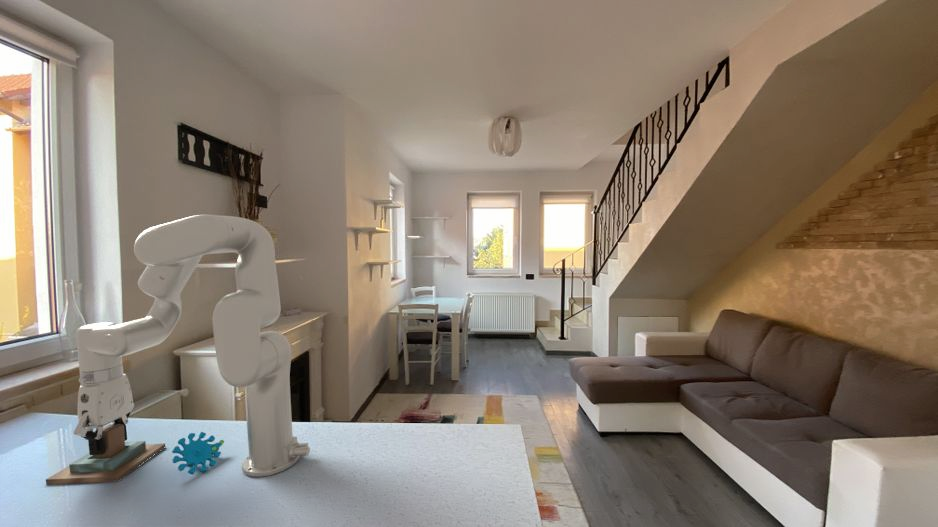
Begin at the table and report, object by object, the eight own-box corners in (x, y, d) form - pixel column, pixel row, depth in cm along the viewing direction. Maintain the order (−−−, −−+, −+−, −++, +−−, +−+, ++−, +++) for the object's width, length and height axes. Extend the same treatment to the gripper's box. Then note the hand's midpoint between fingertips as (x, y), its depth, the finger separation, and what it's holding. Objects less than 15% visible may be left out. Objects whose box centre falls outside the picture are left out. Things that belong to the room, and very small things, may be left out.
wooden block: (126, 455, 96) (124, 423, 96) (110, 464, 92) (108, 431, 92) (111, 455, 96) (109, 423, 96) (94, 464, 92) (93, 431, 92)
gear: (181, 478, 85) (168, 438, 89) (170, 492, 87) (158, 452, 91) (232, 459, 95) (219, 424, 98) (222, 472, 96) (209, 437, 100)
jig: (165, 447, 101) (164, 436, 101) (118, 481, 87) (117, 467, 87) (103, 450, 101) (102, 438, 101) (46, 484, 87) (44, 470, 87)
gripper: (84, 387, 84) (91, 467, 85) (146, 362, 101) (152, 429, 102) (48, 388, 84) (56, 469, 85) (117, 363, 101) (123, 430, 102)
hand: (109, 446), depth 94 cm, fingers open, 5 cm apart
